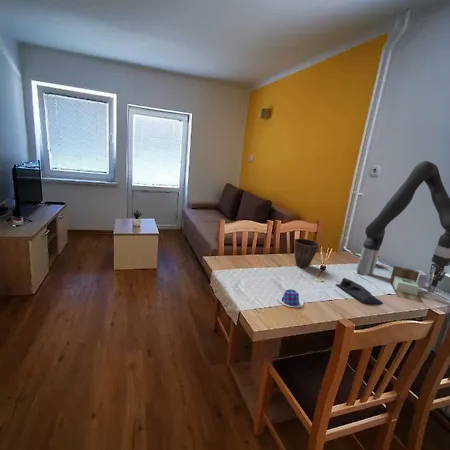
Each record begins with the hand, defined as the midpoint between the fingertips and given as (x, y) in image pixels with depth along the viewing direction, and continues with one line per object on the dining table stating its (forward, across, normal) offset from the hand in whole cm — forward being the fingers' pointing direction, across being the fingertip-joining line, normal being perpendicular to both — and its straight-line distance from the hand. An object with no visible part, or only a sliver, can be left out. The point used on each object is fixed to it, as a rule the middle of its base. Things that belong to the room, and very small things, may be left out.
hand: (432, 285), depth 143 cm
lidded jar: (+9, -44, -25) cm, 51 cm away
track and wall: (+9, -1, -10) cm, 14 cm away
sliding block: (+8, -4, -10) cm, 14 cm away
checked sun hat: (+10, +47, -67) cm, 82 cm away
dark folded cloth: (+10, +17, -36) cm, 41 cm away
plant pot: (+10, -6, -68) cm, 68 cm away
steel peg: (+4, 0, 0) cm, 4 cm away
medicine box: (+9, -19, -1) cm, 21 cm away
